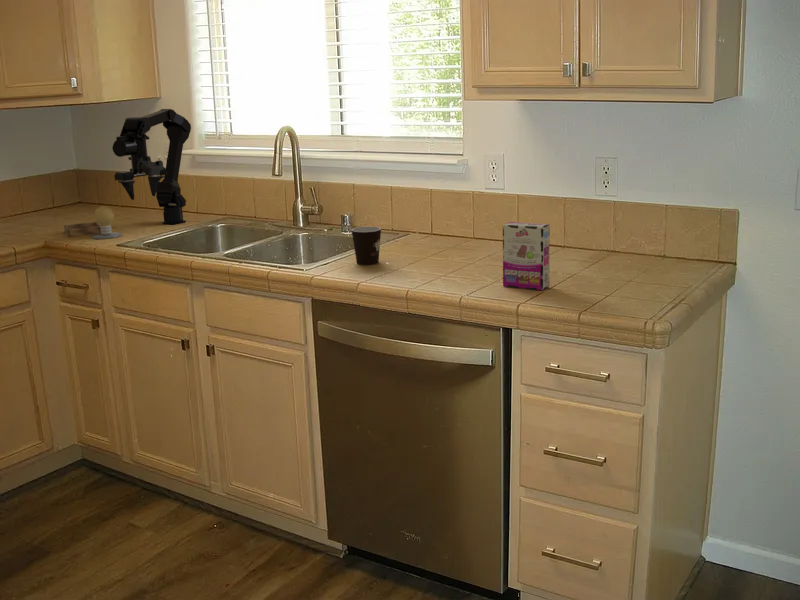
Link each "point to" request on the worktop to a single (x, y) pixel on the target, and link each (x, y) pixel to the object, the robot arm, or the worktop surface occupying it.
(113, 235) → the slate coaster
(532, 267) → the candy bar box
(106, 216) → the light bulb
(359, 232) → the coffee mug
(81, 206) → the worktop surface
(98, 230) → the walnut crate
